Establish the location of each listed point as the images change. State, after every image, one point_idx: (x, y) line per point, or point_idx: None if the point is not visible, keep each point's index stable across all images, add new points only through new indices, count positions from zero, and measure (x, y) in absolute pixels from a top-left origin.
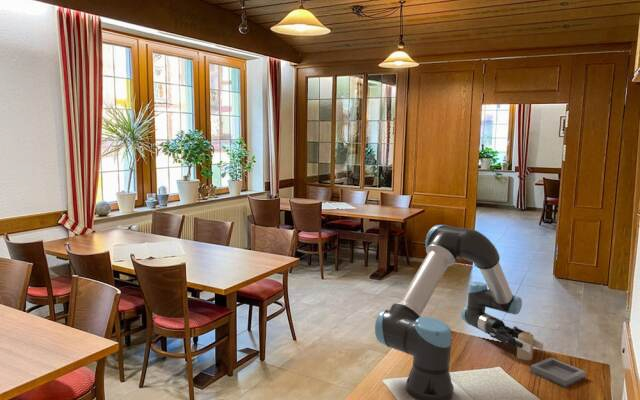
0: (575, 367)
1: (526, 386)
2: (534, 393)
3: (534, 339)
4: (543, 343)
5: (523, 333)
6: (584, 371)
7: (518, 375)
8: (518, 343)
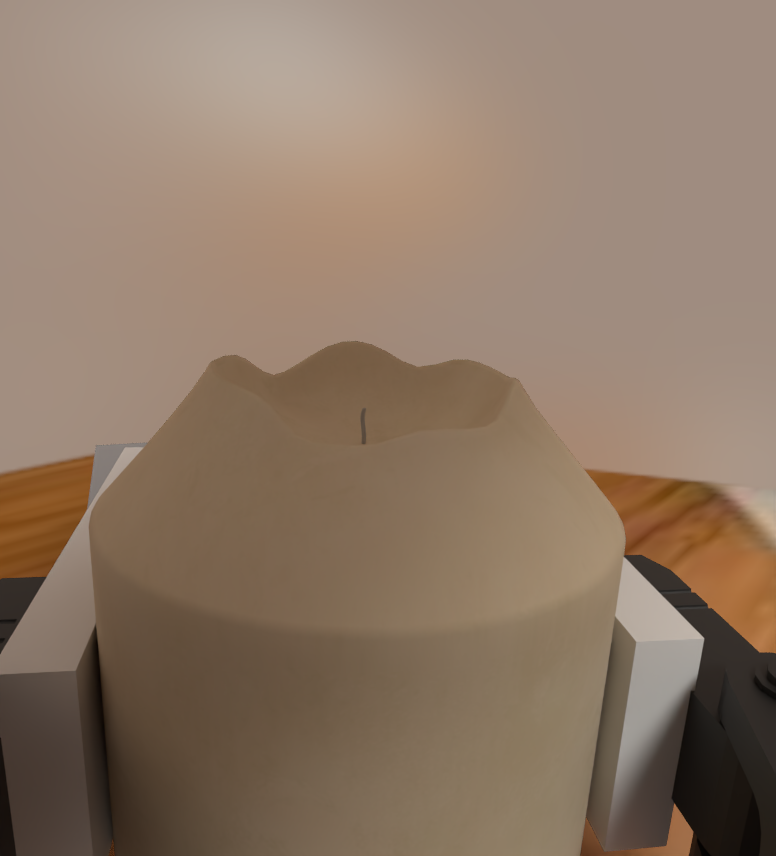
0: (97, 477)
1: (737, 527)
2: (703, 486)
3: None
4: (125, 453)
5: (409, 459)
6: (108, 446)
7: (765, 626)
8: (687, 588)
